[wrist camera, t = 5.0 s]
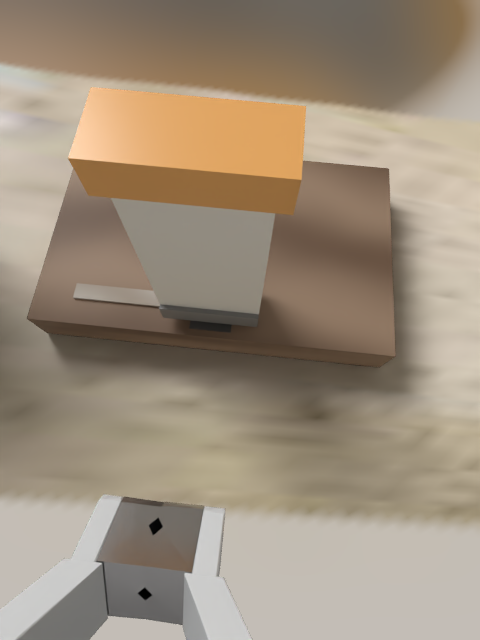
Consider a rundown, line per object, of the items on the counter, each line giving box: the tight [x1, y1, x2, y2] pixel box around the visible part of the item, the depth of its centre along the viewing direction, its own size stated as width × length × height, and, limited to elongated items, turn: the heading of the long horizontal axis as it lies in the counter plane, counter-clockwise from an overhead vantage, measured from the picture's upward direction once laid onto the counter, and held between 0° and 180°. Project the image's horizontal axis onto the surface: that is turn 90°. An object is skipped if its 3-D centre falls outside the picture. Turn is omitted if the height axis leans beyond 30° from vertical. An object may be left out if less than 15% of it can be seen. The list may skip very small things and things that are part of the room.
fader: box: [68, 87, 306, 327], centre depth 13 cm, size 2×5×9 cm, turn 84°
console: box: [27, 161, 396, 367], centre depth 20 cm, size 10×16×2 cm, turn 84°
